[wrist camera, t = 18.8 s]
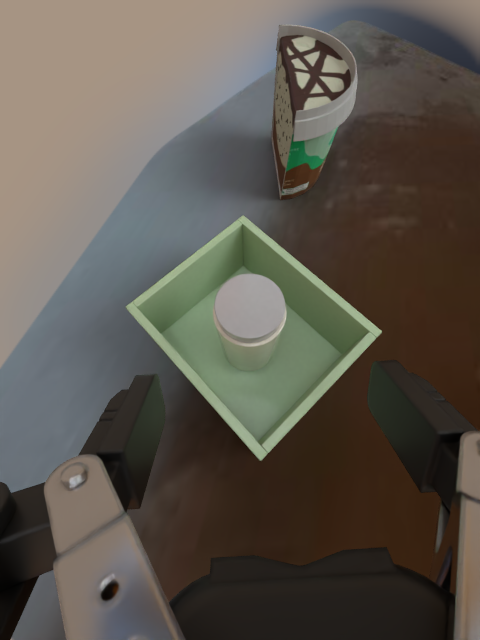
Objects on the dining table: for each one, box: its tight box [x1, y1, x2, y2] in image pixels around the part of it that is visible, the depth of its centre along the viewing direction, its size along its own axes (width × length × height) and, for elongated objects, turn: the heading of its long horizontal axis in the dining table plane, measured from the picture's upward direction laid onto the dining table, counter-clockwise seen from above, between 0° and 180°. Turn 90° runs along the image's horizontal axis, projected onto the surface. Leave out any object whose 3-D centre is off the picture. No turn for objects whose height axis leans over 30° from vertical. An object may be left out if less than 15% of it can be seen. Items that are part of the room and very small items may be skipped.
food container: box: [271, 25, 357, 200], centre depth 29 cm, size 12×6×10 cm, turn 4°
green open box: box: [126, 216, 382, 461], centre depth 23 cm, size 11×13×7 cm
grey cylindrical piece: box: [213, 274, 287, 371], centre depth 21 cm, size 5×5×8 cm
